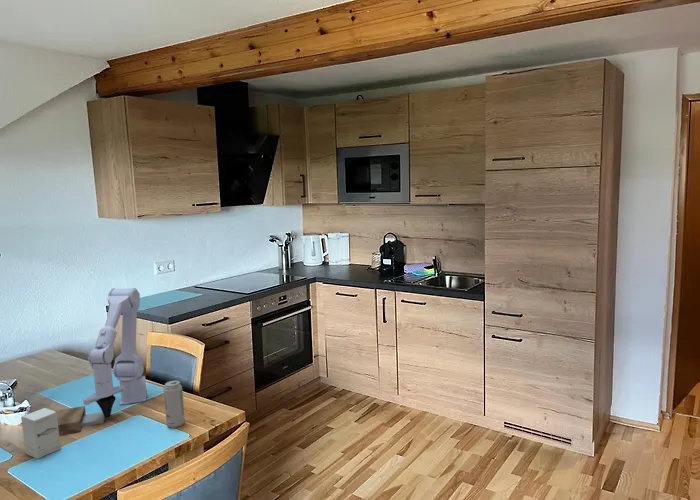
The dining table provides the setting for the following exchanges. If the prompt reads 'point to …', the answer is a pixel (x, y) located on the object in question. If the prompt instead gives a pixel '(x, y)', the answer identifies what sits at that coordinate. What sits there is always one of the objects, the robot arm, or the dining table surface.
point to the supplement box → (41, 432)
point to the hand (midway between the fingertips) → (107, 416)
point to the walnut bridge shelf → (70, 420)
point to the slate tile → (92, 419)
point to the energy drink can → (174, 404)
